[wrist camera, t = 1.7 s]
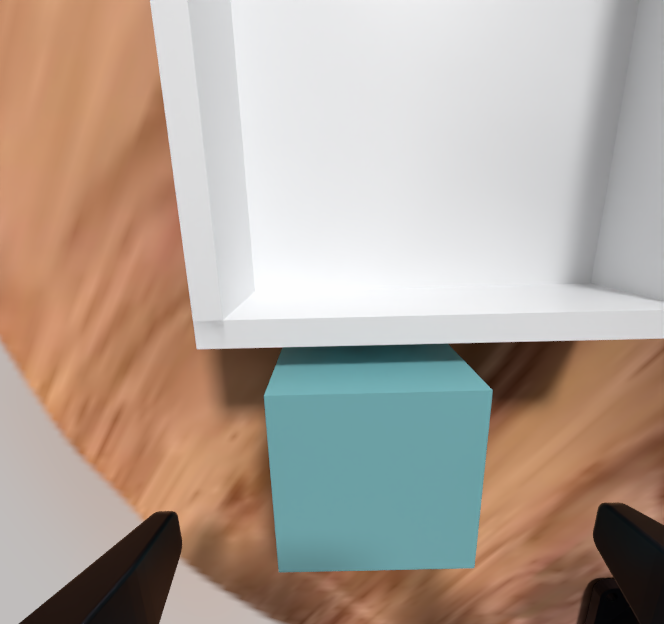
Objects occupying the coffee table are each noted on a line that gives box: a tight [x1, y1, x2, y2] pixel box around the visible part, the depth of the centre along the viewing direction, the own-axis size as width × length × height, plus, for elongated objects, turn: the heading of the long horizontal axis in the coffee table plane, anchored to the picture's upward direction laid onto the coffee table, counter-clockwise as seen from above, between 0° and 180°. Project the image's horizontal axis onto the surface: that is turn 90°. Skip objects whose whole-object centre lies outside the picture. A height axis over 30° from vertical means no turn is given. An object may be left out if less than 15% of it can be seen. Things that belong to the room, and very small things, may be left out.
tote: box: [150, 0, 664, 349], centre depth 8 cm, size 15×12×4 cm
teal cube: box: [264, 343, 493, 572], centre depth 10 cm, size 5×5×5 cm
